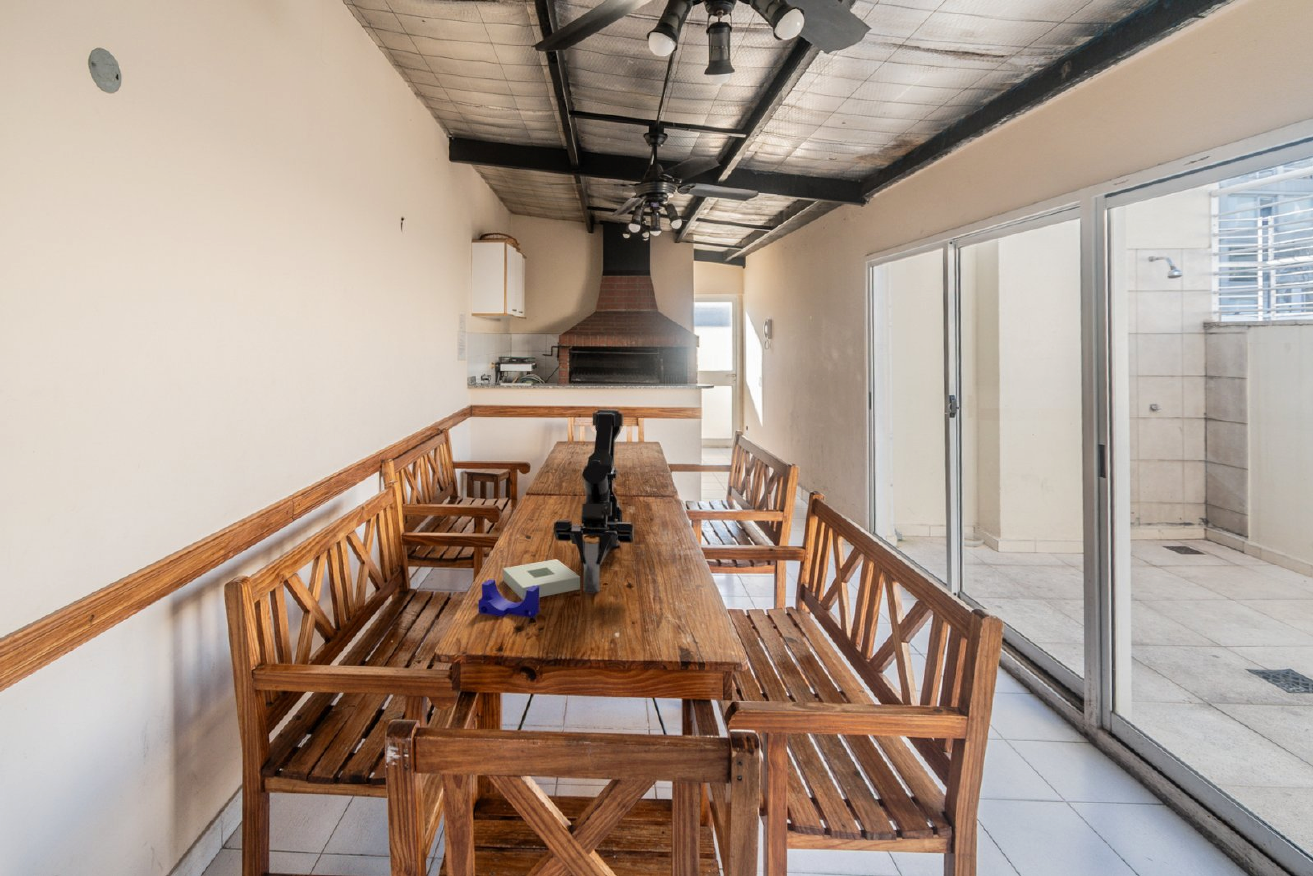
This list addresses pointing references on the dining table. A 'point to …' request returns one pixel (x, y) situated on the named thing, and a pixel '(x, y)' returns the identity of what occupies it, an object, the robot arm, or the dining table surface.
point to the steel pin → (591, 563)
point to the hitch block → (541, 578)
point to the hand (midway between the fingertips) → (590, 564)
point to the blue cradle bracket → (507, 602)
